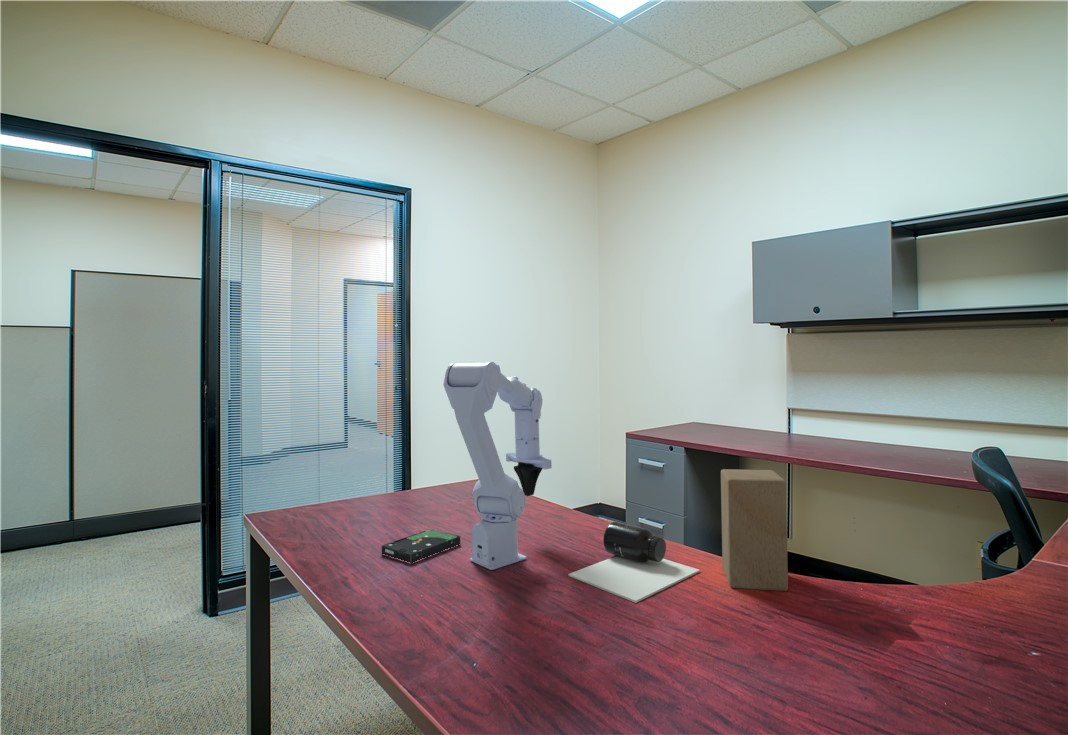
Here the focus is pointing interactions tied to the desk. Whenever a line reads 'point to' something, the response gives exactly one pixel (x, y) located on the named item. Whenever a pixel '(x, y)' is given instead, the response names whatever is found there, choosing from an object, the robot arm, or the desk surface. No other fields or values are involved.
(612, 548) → the supplement bottle
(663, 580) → the mat
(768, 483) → the wooden block
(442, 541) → the disk drive
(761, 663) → the desk surface
